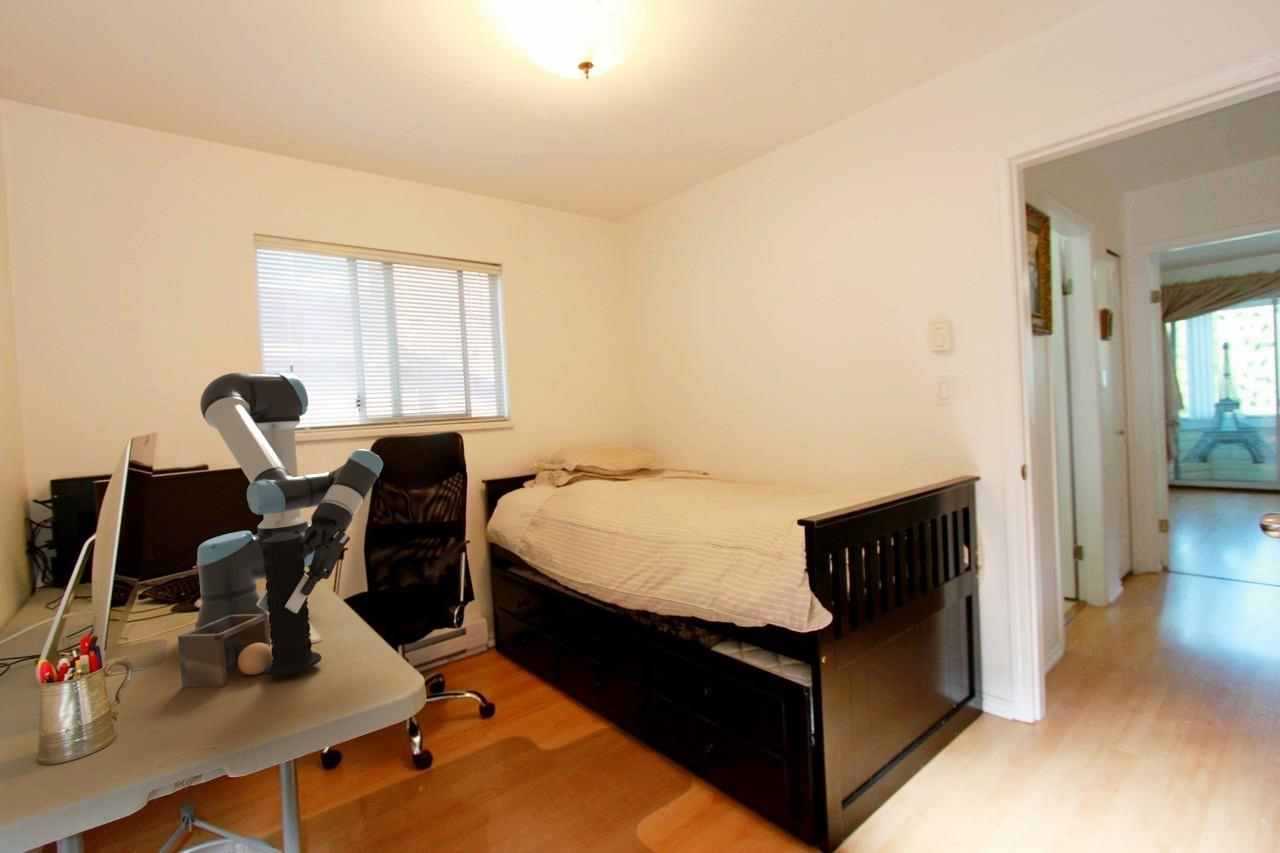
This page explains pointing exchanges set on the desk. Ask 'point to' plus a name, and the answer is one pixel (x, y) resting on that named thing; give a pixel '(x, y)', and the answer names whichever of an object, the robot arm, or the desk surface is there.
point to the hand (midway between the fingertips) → (276, 608)
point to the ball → (255, 658)
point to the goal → (218, 648)
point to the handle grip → (285, 625)
